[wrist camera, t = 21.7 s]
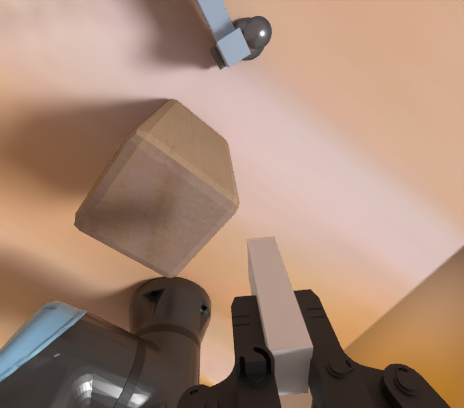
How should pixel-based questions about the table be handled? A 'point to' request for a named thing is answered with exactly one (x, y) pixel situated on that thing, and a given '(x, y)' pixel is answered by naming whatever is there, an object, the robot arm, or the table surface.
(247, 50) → the grey i-beam block
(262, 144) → the table surface
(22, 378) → the robot arm
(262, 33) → the gate posts
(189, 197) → the wooden block
